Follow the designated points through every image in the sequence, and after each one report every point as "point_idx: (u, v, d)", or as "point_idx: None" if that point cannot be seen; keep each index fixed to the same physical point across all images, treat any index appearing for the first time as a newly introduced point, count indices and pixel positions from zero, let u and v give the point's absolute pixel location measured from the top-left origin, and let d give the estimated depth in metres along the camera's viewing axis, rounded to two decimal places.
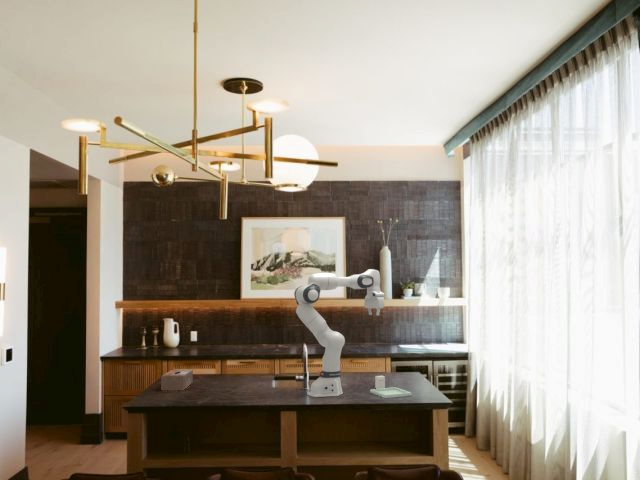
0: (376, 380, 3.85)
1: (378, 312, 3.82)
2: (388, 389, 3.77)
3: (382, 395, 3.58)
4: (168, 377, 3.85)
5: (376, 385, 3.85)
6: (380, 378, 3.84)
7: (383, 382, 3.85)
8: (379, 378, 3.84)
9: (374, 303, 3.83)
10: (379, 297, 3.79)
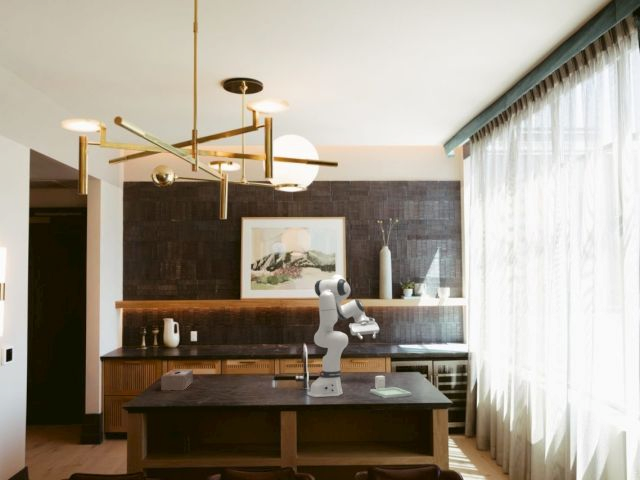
0: (376, 380, 3.85)
1: (374, 335, 4.07)
2: (388, 389, 3.77)
3: (382, 395, 3.58)
4: (168, 377, 3.85)
5: (376, 385, 3.85)
6: (380, 378, 3.84)
7: (383, 382, 3.85)
8: (379, 378, 3.84)
9: (370, 327, 4.09)
10: None
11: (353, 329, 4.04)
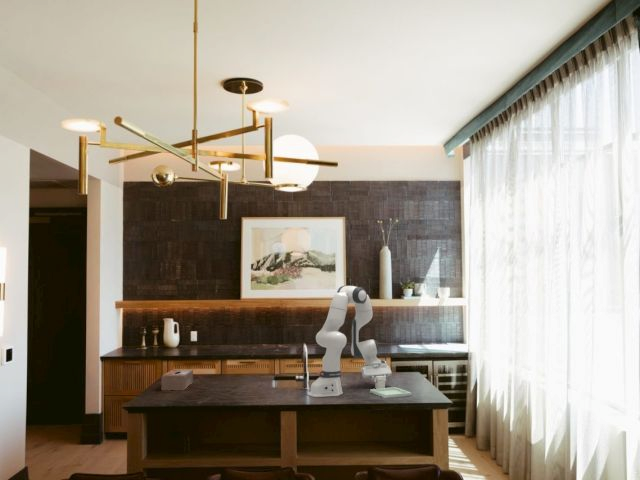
0: None
1: None
2: (388, 389, 3.77)
3: (382, 395, 3.58)
4: (168, 377, 3.85)
5: (376, 385, 3.85)
6: (380, 378, 3.84)
7: (383, 382, 3.85)
8: (379, 378, 3.84)
9: (382, 370, 3.91)
10: None
11: (365, 372, 3.86)
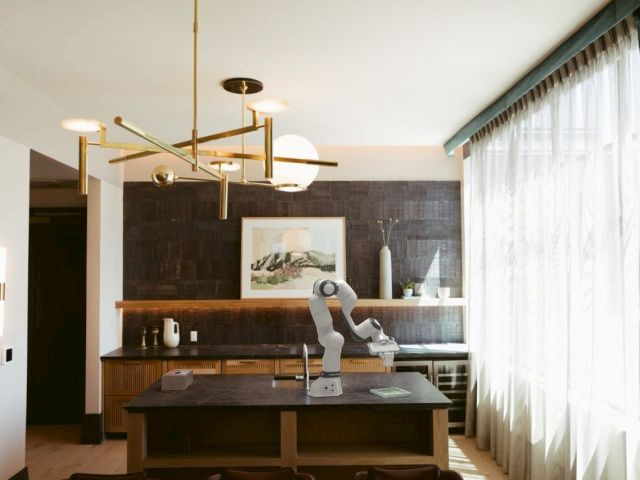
0: None
1: None
2: (388, 389, 3.77)
3: (382, 395, 3.58)
4: (168, 377, 3.85)
5: (384, 362, 3.71)
6: (388, 355, 3.70)
7: (391, 359, 3.71)
8: (387, 355, 3.70)
9: (390, 347, 3.77)
10: None
11: (372, 348, 3.72)
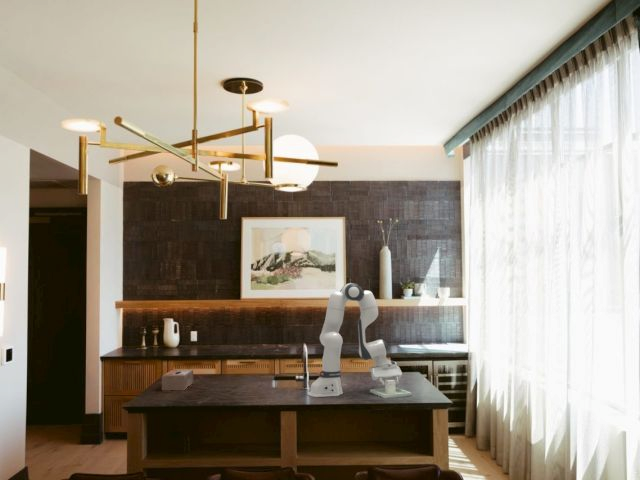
0: (386, 384, 3.67)
1: None
2: None
3: (382, 395, 3.58)
4: (169, 377, 3.85)
5: (386, 390, 3.67)
6: (390, 382, 3.65)
7: (393, 386, 3.66)
8: (390, 383, 3.65)
9: (392, 371, 3.73)
10: None
11: (375, 373, 3.67)
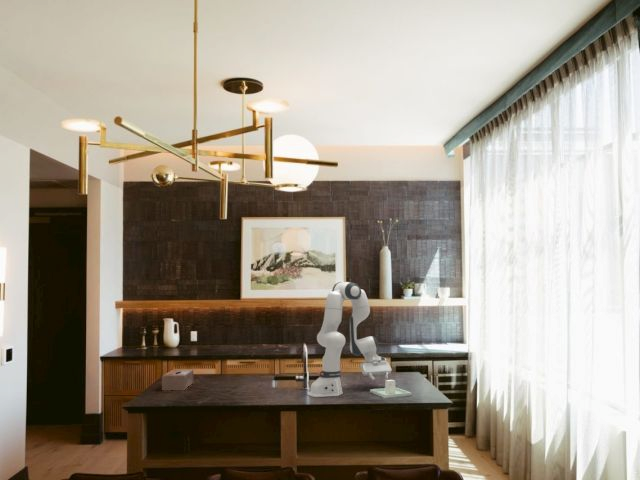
0: (386, 384, 3.67)
1: None
2: None
3: (382, 395, 3.58)
4: (169, 377, 3.85)
5: (386, 390, 3.67)
6: (390, 382, 3.65)
7: (393, 386, 3.66)
8: (390, 383, 3.65)
9: (382, 367, 3.85)
10: None
11: (365, 369, 3.79)
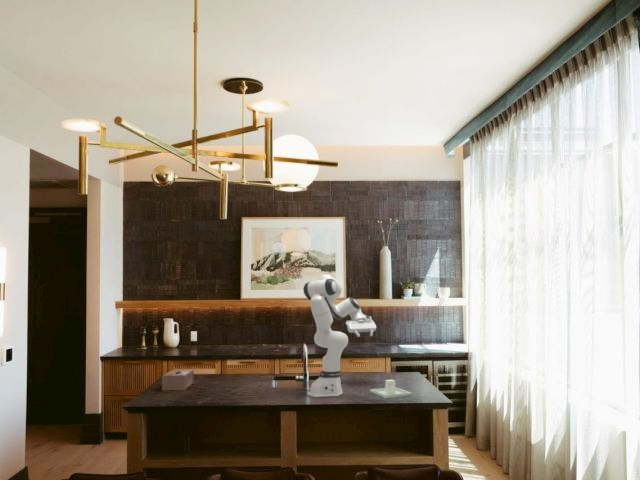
0: (386, 384, 3.67)
1: None
2: None
3: (382, 395, 3.58)
4: (169, 377, 3.85)
5: (386, 390, 3.67)
6: (390, 382, 3.65)
7: (393, 386, 3.66)
8: (390, 383, 3.65)
9: (367, 325, 4.01)
10: None
11: (350, 326, 3.96)
